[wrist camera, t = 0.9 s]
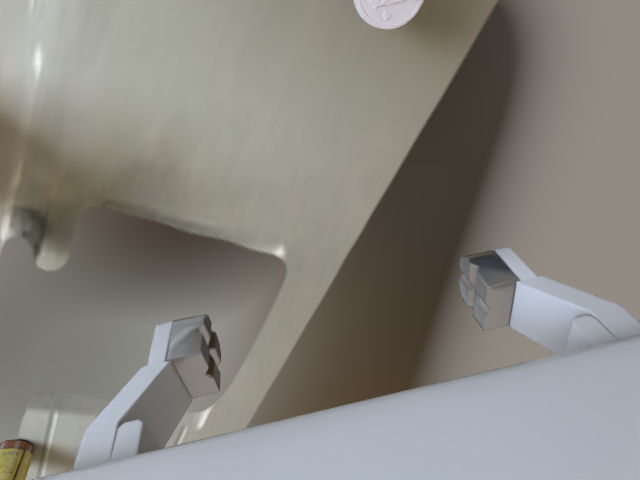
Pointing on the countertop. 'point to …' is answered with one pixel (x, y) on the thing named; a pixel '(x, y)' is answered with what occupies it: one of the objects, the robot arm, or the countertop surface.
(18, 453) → the sauce bottle
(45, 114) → the countertop surface
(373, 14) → the smoothie
